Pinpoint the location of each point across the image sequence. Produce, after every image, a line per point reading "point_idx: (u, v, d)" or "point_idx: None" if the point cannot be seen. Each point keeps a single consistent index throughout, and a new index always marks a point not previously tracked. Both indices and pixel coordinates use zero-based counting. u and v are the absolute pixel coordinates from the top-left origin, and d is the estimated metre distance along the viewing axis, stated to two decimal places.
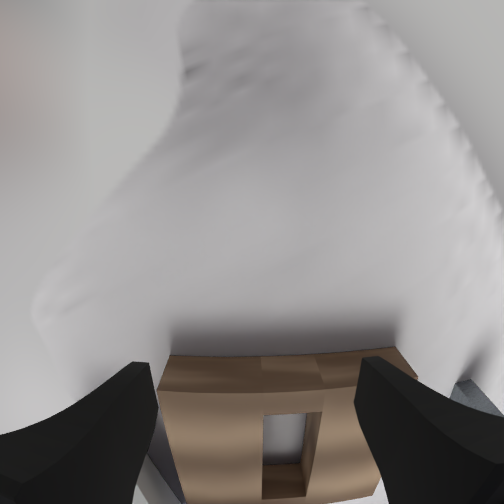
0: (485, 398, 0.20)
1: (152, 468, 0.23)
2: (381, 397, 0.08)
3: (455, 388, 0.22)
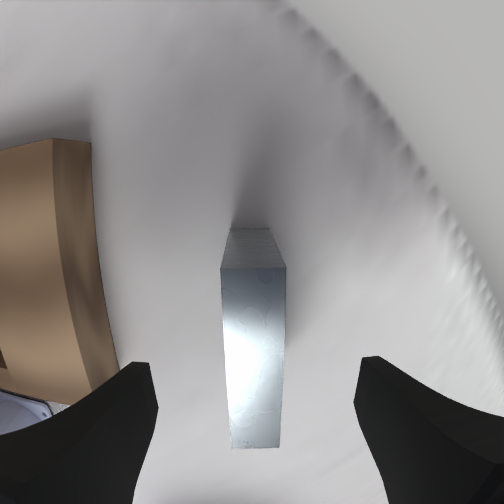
0: (268, 240, 0.14)
1: None
2: (381, 397, 0.08)
3: None
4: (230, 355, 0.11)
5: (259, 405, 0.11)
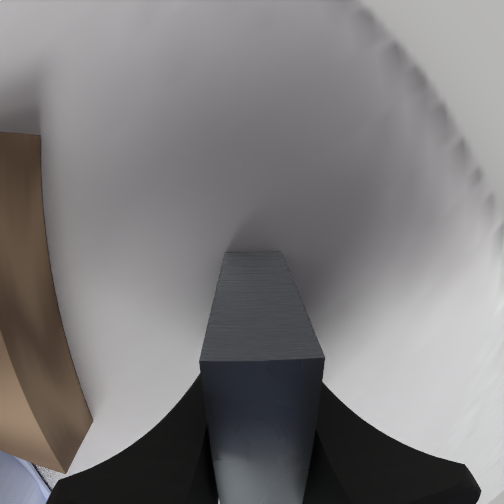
0: (283, 279, 0.09)
1: None
2: None
3: None
4: (223, 473, 0.06)
5: None
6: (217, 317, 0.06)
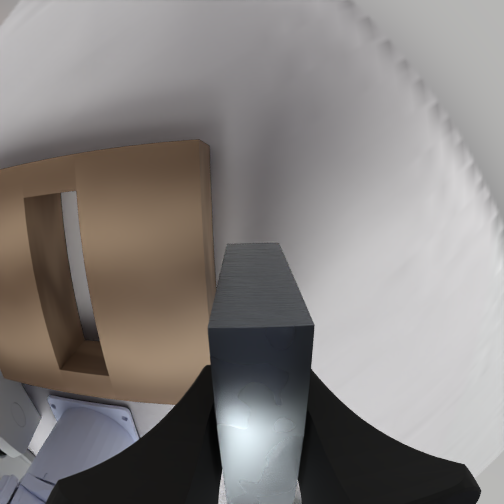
0: (280, 265, 0.10)
1: None
2: None
3: None
4: (226, 439, 0.07)
5: (267, 488, 0.07)
6: (222, 295, 0.07)
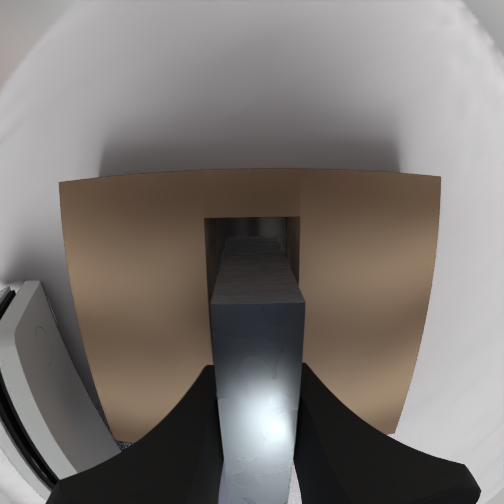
0: (277, 255, 0.11)
1: (74, 380, 0.17)
2: None
3: None
4: (226, 413, 0.07)
5: (264, 465, 0.08)
6: (223, 278, 0.08)
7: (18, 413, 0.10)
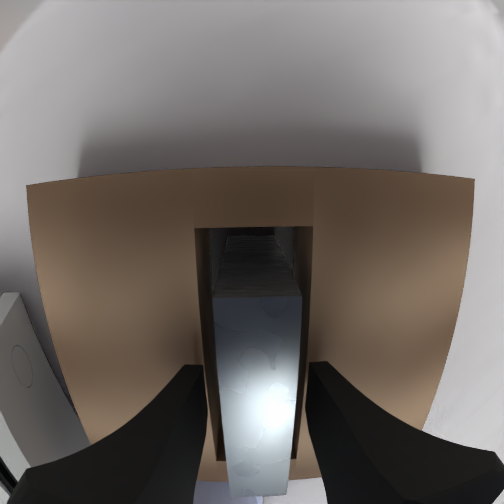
0: (275, 253, 0.11)
1: (59, 400, 0.15)
2: (322, 405, 0.08)
3: None
4: (227, 403, 0.08)
5: (263, 455, 0.09)
6: (224, 275, 0.09)
7: None
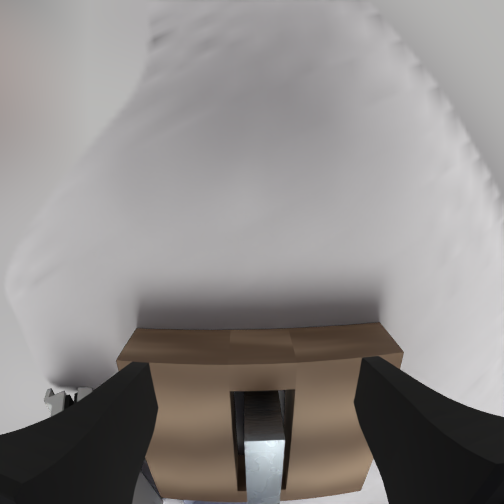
0: (274, 393, 0.18)
1: None
2: (381, 397, 0.08)
3: None
4: (249, 475, 0.15)
5: (266, 494, 0.15)
6: (247, 420, 0.16)
7: None
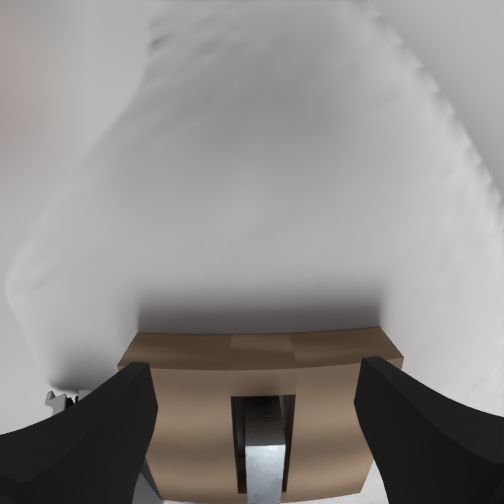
0: (274, 398, 0.18)
1: None
2: (381, 397, 0.08)
3: None
4: (250, 479, 0.15)
5: (267, 497, 0.15)
6: (248, 425, 0.16)
7: None
